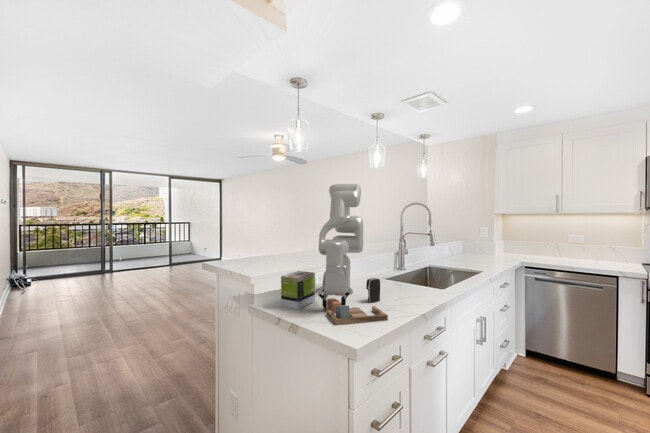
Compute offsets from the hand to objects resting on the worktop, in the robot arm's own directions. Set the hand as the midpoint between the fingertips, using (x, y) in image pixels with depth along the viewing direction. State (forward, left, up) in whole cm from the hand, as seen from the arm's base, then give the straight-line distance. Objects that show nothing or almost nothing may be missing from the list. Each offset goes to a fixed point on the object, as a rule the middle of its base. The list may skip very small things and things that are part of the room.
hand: (334, 307), depth 135 cm
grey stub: (+13, 0, 0) cm, 13 cm away
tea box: (-13, -14, -2) cm, 19 cm away
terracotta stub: (0, 0, -1) cm, 1 cm away
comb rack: (+11, +7, -1) cm, 13 cm away
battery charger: (-9, +23, -1) cm, 25 cm away
